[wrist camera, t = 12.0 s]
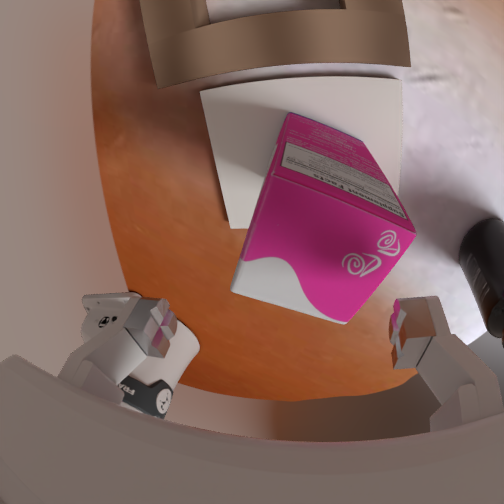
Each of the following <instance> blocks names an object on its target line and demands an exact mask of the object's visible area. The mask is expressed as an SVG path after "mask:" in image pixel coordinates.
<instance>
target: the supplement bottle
mask: <svg viewBox="0 0 504 504" xmlns="http://www.w3.org/2000/svg"><path fill="white" fill-rule="evenodd" d="M459 261H460V265H461V268H462V270H463V272H464V274H465V277H466V279H467V281H468V283H469V286H470V288H471V290H472V293H473V295H474V297H475V300H476V302H477V305H478V308H479V310H480V313H481V315H482V318H483V321H484V324H485V326H486V329H487V331H488V332H489V333H490V334H491V335H492V336H494V337H497V338H502V345H503V348H504V222H503V221H501V220H499V219H487V220H484V221H482V222H480V223H478V224H477V225H475V226H474V227H473V228H472V229H471V230H470V231H469V232H468V234H467V235H466V237H465V238H464V240H463V242H462V245H461V248H460V252H459Z"/></svg>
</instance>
